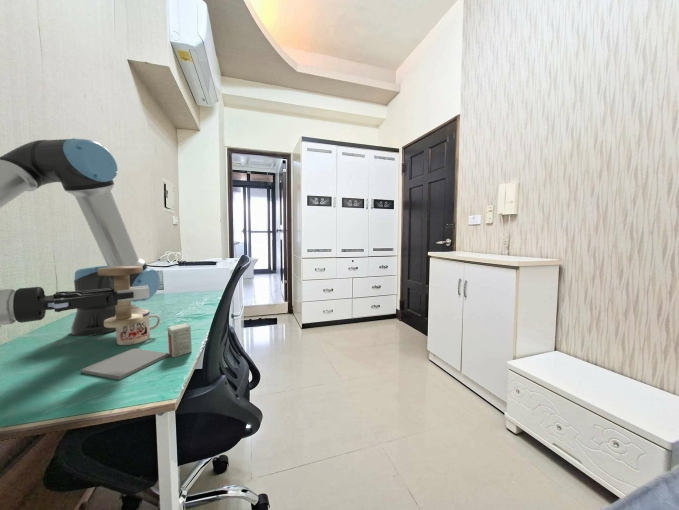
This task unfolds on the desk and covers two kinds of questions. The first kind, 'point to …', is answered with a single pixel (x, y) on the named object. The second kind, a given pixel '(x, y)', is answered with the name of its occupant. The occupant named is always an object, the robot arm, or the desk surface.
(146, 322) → the teacup with lid
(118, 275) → the stool
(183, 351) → the small box
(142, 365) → the mat
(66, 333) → the desk surface
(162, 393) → the desk surface
